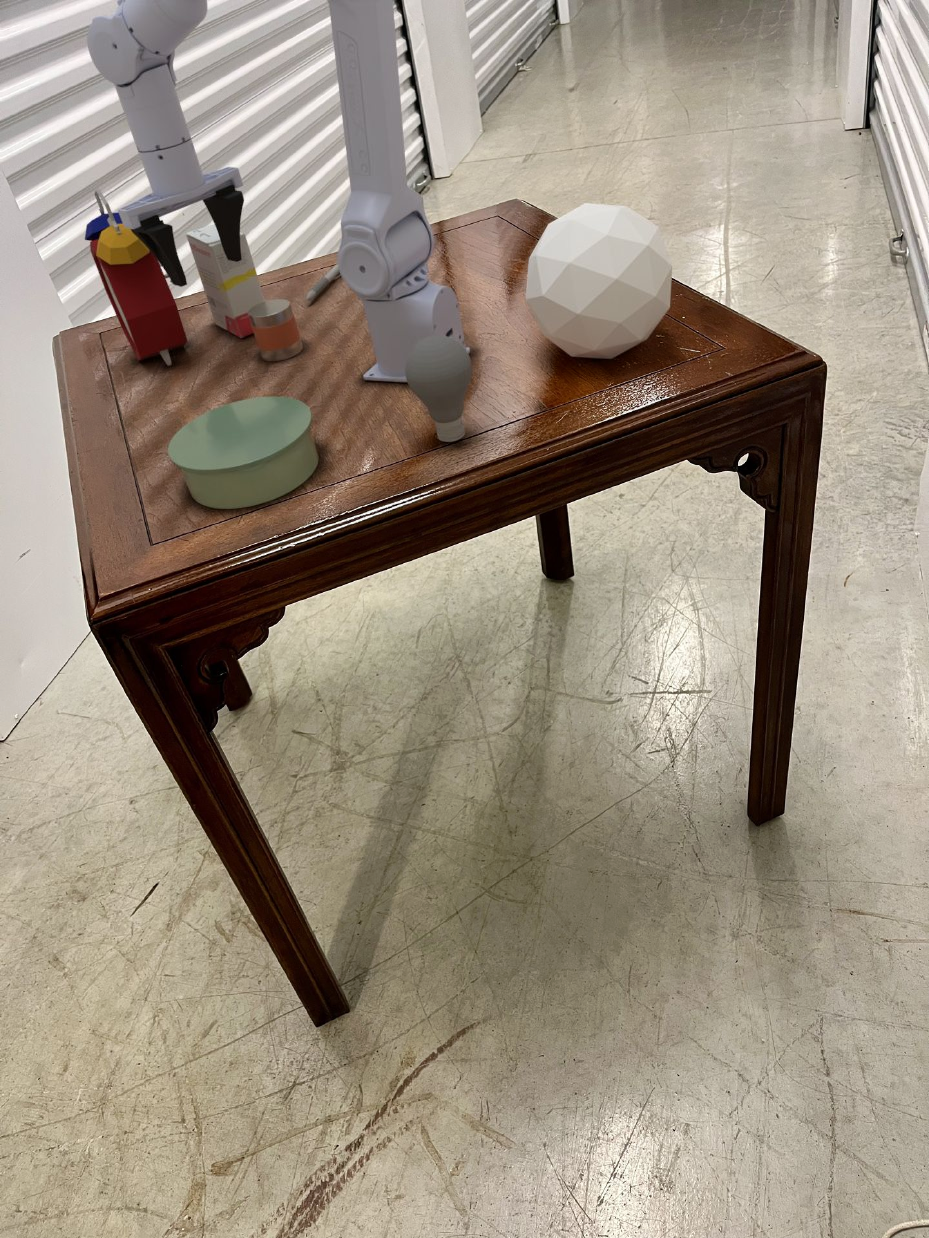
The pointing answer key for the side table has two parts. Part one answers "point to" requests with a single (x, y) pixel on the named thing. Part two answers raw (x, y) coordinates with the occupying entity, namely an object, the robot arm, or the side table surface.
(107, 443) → the side table surface
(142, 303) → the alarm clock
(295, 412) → the pale green flat cylinder
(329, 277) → the pen
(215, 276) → the ink box
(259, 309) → the can
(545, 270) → the geometric shape
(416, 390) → the light bulb
